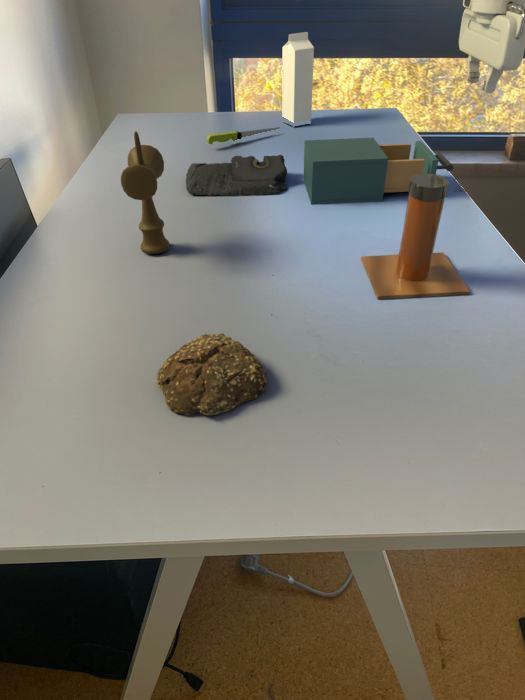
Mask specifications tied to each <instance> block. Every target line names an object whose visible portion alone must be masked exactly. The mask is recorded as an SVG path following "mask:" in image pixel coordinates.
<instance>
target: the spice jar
mask: <svg viewBox="0 0 525 700" xmlns="http://www.w3.org/2000/svg"><path fill="white" fill-rule="evenodd" d="M449 184H450V181H449V179H447V178H446V177H444V176H442V175H439V174H436V175H435V174H418V175H415V176H413V177H412V178H411V181H410V187H409V191H408V197H407V204H406V209H405V215H404V221H403V226H402V233H401V238H400V246H399V250H398V255H399V256H398V262H397V268H396V273H397V275H398V276H399V277H401V278H403V279H405V280H410V281H420V280H424V279H426V278H427V277H428V274H429V269H430V265H431V260H432V255H433V253H434V251H435V246H436V242H437V236H438V232H439V228H440V223H441V217H442V213H443V208H444V204H445V200H446V198H447V194H448V190H449Z"/></svg>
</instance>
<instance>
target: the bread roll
mask: <svg viewBox="0 0 525 700" xmlns="http://www.w3.org/2000/svg"><path fill="white" fill-rule="evenodd" d="M264 369H265V366H264V364H263V363H261V360H259V359H258V358H257V357H256V355H255V354H254V353H252V352H251V350H250V349H249V348H247V347H246V346H244V345H243V344H242V342H240V341H238V340H235V339H232V337H231V336H227V335H225V334H224V333H218V334H215V333H212V334H211V333H205V334H202V335H199V336H198V337H196V338H194V339H192V340H191V341H189V342H186V343H184V345H182V346H181V347H180V348H179V349H178V350H176V351H175V352H174V353H172V354H169V357H168V358H167V359H166V360H165V361H164V362H163V364H162V365H161V366H160V368H159V369H158V372H157V373H156V381H155V383H156V385H157V387H158V388H159V390H161V392H162V393H163V396H164V397H165V403H166V405H167V407H168V409H169V410H170V411H171V412H172V413H175V414H181V415H186V416H191V415H194V414H197V413H199V414H201V415H204V416H211V417H212V416H217V415H219V414H221V413H226V412H230V411H231V410H233V409H235V408H236V407H238V406H239V405H241V404H243V403H246V402H247V401H254V400H256V399H258V398H259V396H260V394H261V393H263V392H264V391H265V389H266V385H267V372H266V371H265V370H264Z"/></svg>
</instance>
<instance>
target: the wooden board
mask: <svg viewBox="0 0 525 700" xmlns="http://www.w3.org/2000/svg"><path fill="white" fill-rule="evenodd" d="M398 256H399V254H386V255H385V254H384V255H365V256H361V257H360V260H361V263H362V266H363V268H364V270H365V272H366V275H367V278H368V280H369V282H370V285H371V287H372V289H373V291H374V294H375V296H376V298H377V300H389V299H391V300H392V299H409V298H429V297H448V296H465V295H470V292H471V291H470V288H468V286H467V285H466V283H465V282H464V281H463V279H462V277H461V275H460V274H459V273H458V271H457V270H456V269H455V267H454V266H453V265H452V263H451V261H450V260H449V258H448V257H447V255H446V254H445V253H444V252H433V255H432V260H431V265H430V269H429V274H428V277H427V278H426V279H424V280H420V281H410V280H405V279H403V278H401V277H399V276H398V275H397V273H396V268H397V262H398Z"/></svg>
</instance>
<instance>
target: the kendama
mask: <svg viewBox="0 0 525 700" xmlns="http://www.w3.org/2000/svg"><path fill="white" fill-rule="evenodd" d="M133 138H134V147H133V148H131V149H130V150H129V152H128V155H127V166H126V167H125V168H124V169H122V172H121V175H120V185H121V188H122V191H123V192H124V193H125V194H126V195H127V196H128V197H129V198H131V199H132V200H136V201H141V221H140V222H139V223H138V229H139V230H140V231H141V233H142V241H141V243H140V251H142V252H143V253H144V254H147V255H158V254H162V253H165V252H166V251H168V250H169V247H170V241H169V240H168V239H167V238H166V236H165V234H164V226H165V222H164V220H163V219H162V218H160V216H159V214H158V211H157V208H156V205H155V203H154V199H153V197H154V196H155V195H156V193H157V191H158V179H160V177H162V175H163V173H164V170H165V161H164V158H163V155H162V154H161V152H160V151H159V149H158V148H156V147H155V146H153V145H148V144H141V140H140V136H139V133H138V131H136V130H135V131H134V132H133Z"/></svg>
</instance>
